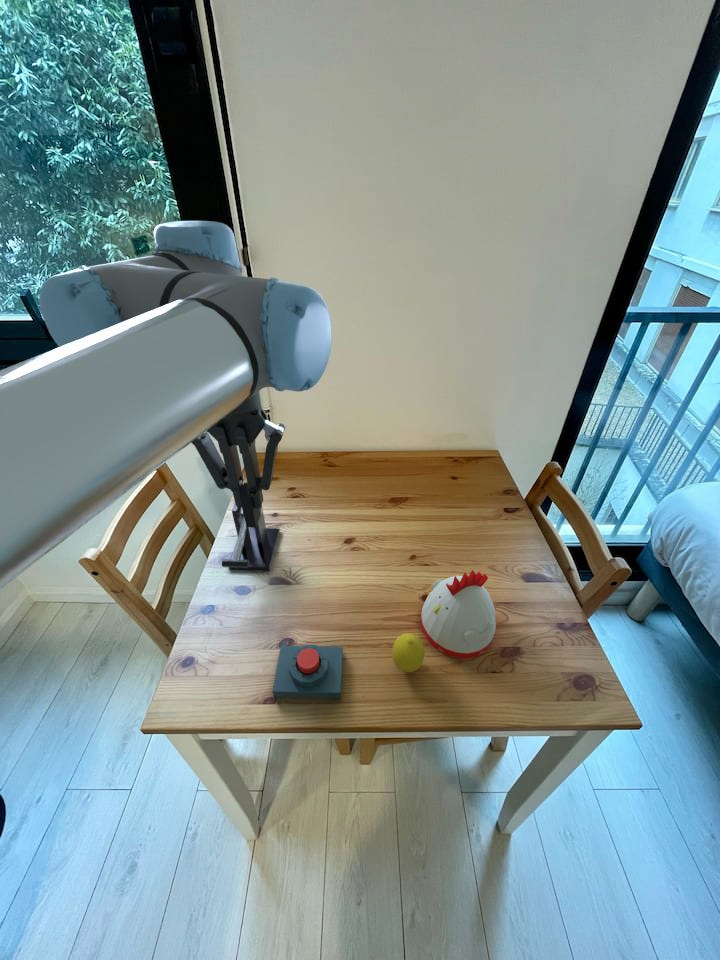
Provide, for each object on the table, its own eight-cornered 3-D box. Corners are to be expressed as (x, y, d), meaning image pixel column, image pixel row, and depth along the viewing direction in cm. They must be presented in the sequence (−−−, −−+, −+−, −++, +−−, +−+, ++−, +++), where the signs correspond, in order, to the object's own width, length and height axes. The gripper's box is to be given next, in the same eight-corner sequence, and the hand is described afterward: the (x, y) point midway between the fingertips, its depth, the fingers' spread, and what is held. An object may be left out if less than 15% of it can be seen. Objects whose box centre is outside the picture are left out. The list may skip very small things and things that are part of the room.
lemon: (428, 669, 72) (434, 644, 67) (404, 686, 69) (407, 662, 64) (408, 644, 75) (412, 619, 70) (384, 660, 73) (386, 635, 68)
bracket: (269, 571, 89) (261, 524, 80) (228, 569, 89) (216, 523, 80) (280, 532, 98) (273, 487, 90) (243, 530, 98) (233, 485, 90)
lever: (249, 569, 80) (246, 564, 78) (223, 569, 80) (220, 563, 78) (261, 508, 88) (259, 502, 86) (238, 507, 88) (236, 501, 86)
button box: (274, 697, 67) (271, 686, 65) (282, 652, 74) (279, 640, 71) (340, 699, 67) (340, 687, 65) (342, 653, 74) (342, 641, 71)
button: (296, 674, 67) (295, 668, 66) (299, 653, 70) (298, 647, 69) (318, 674, 67) (317, 669, 66) (320, 653, 70) (319, 648, 69)
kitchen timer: (408, 606, 82) (415, 555, 73) (467, 586, 86) (480, 535, 77) (443, 669, 72) (457, 618, 63) (508, 643, 76) (529, 592, 67)
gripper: (284, 365, 51) (299, 506, 65) (181, 362, 51) (219, 504, 66) (272, 391, 45) (291, 540, 59) (156, 387, 45) (203, 537, 60)
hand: (253, 521), depth 63 cm, fingers closed
